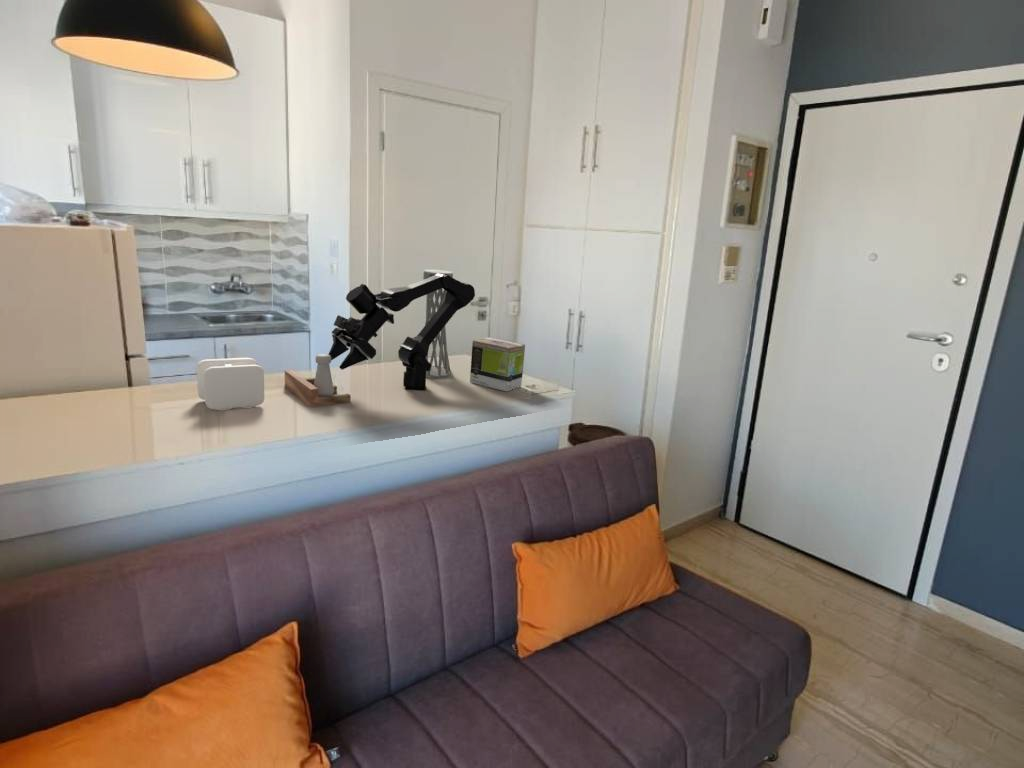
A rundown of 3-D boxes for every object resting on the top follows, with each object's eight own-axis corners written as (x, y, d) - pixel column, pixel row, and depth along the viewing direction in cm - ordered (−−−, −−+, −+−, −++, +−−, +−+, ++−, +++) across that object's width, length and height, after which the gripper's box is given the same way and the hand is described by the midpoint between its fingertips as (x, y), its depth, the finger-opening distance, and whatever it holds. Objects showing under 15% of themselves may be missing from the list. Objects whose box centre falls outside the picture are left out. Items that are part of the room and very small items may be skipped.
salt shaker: (337, 400, 176) (337, 356, 172) (318, 403, 172) (318, 357, 168) (328, 394, 180) (328, 351, 176) (309, 397, 176) (309, 353, 173)
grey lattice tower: (411, 367, 218) (416, 267, 208) (449, 368, 221) (455, 270, 211) (413, 377, 205) (419, 272, 196) (453, 379, 208) (460, 275, 199)
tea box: (522, 387, 207) (526, 344, 203) (505, 392, 198) (510, 348, 194) (485, 377, 214) (489, 335, 210) (468, 382, 206) (471, 339, 202)
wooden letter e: (322, 382, 190) (322, 367, 189) (350, 401, 175) (350, 385, 174) (284, 386, 183) (284, 370, 182) (310, 406, 168) (311, 389, 167)
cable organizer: (202, 412, 157) (200, 368, 154) (197, 400, 165) (195, 358, 162) (264, 407, 165) (263, 365, 162) (257, 396, 173) (256, 355, 170)
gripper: (338, 300, 181) (301, 339, 177) (366, 311, 167) (327, 354, 163) (362, 325, 188) (327, 363, 184) (391, 338, 174) (355, 379, 170)
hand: (333, 364), depth 175 cm, fingers open, 9 cm apart
